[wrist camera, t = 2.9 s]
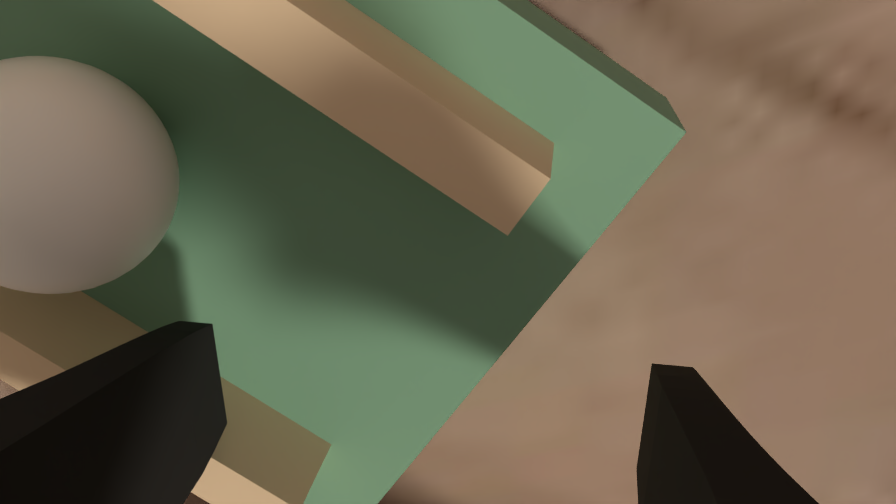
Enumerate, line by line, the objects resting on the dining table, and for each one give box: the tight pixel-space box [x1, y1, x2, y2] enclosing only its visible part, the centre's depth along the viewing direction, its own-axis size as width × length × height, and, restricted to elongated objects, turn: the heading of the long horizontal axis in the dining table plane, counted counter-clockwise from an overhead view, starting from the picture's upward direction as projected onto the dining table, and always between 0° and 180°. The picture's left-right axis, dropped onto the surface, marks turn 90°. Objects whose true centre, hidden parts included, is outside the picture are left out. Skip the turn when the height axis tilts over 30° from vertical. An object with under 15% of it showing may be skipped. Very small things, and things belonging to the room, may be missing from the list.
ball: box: [0, 56, 180, 294], centre depth 11 cm, size 4×4×4 cm
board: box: [0, 0, 686, 504], centre depth 12 cm, size 19×11×5 cm, turn 58°
